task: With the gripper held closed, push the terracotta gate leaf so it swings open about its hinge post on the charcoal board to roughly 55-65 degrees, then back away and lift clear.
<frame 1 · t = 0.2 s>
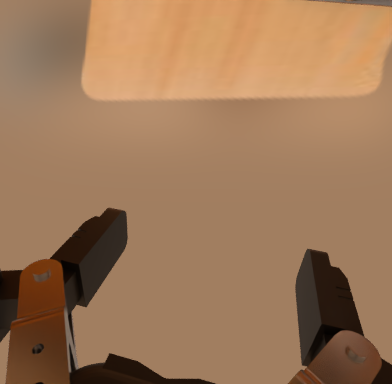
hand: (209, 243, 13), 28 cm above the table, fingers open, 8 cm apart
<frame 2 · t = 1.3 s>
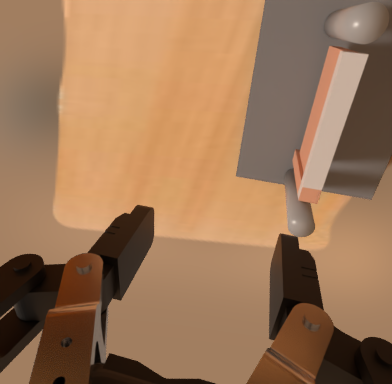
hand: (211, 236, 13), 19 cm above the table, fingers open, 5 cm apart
gate: (320, 121, 23), point 5 cm above the table, hinge at 0.0°
gate frame: (325, 99, 27), on the table
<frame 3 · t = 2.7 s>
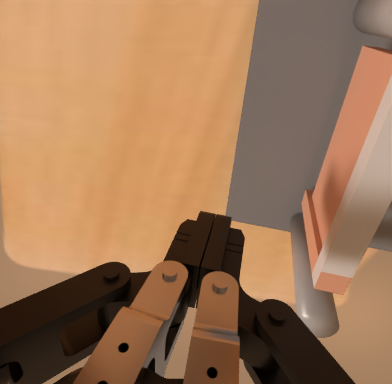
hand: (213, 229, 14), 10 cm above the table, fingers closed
gate: (347, 163, 15), point 6 cm above the table, hinge at 0.0°
gate frame: (349, 121, 19), on the table
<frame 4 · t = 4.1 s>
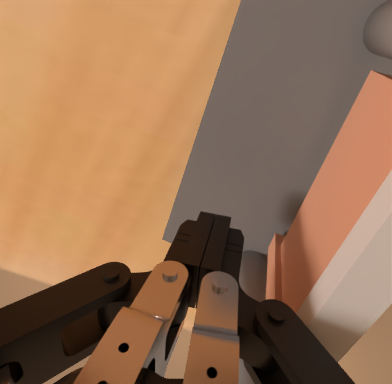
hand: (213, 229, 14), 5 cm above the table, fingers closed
gate: (330, 223, 11), point 5 cm above the table, hinge at 4.7°, touching hand
gate frame: (329, 158, 16), on the table
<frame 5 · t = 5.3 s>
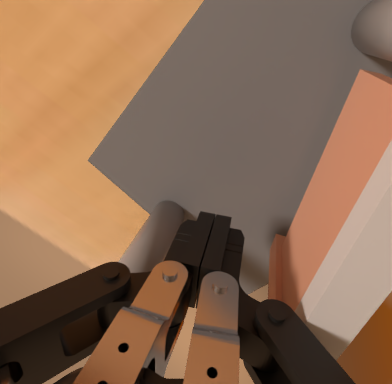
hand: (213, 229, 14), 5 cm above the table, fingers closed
gate: (326, 222, 11), point 5 cm above the table, hinge at 31.2°, touching hand
gate frame: (277, 137, 16), on the table
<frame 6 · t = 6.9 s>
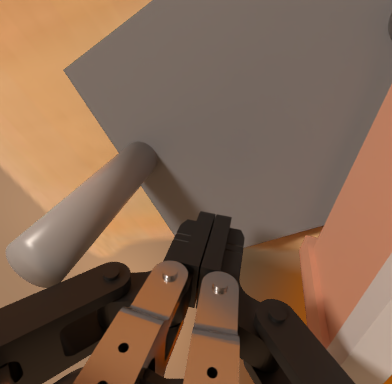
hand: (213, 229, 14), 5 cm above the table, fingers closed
gate: (371, 223, 11), point 5 cm above the table, hinge at 51.5°
gate frame: (277, 107, 15), on the table
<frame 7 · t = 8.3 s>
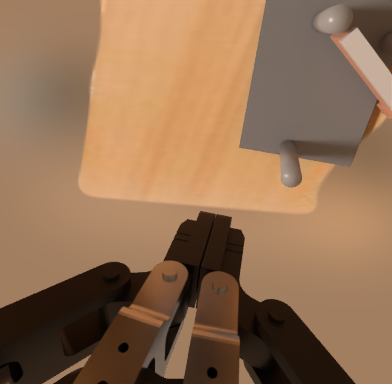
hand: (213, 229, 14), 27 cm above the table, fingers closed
gate: (372, 77, 28), point 6 cm above the table, hinge at 51.5°
gate frame: (313, 82, 34), on the table
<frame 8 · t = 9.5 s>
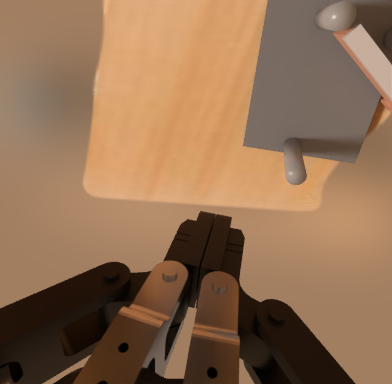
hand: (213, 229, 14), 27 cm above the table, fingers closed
gate: (375, 73, 28), point 5 cm above the table, hinge at 51.5°
gate frame: (316, 79, 34), on the table
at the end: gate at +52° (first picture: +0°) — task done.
